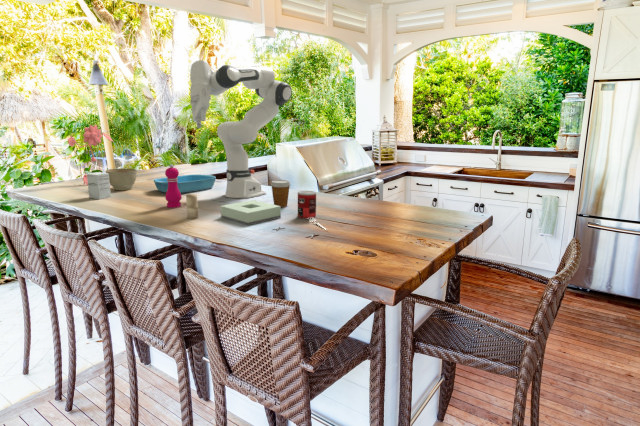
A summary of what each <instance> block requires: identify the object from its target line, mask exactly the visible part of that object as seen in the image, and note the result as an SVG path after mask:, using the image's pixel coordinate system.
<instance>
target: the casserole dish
mask: <svg viewBox="0 0 640 426" xmlns="http://www.w3.org/2000/svg"><path fill="white" fill-rule="evenodd" d="M216 177H217V176H215V175H212V174H211V175H210V174H199V173H198V174H196V173H195V174H185V175H178V177H177V178H178V181H177V186H178V189H179V191H180V193H181V194H185V193H193V192H198V191H199V190H200V191H203V190H209V188H210V189H212V188H213V187H214V185H215V183H216V179H217V178H216ZM153 183H154V185H155V187H156V189H157V190H158V191H159V192H161V193H166V192H167V190H168V181H167V176H165V177H159V178H154V179H153Z"/></svg>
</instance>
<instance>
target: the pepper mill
mask: <svg viewBox="0 0 640 426" xmlns="http://www.w3.org/2000/svg"><path fill="white" fill-rule="evenodd" d="M164 175H165V177H167V181H168V190H167V192H165V197H164V198H165V200H166V201H167V203H166V206H167V208H169V209H170V208H171V209H172V208H173V209H175V208H177V209H178V208H180V207H181V206H182V203H181V200H182V193H180V191H179V189H178V186H177V181H178V178H177V177H178V176H180V172H179V170H178V169H177V168H176V167H175V166H174V164H172V163H171V164H169V167H168V168H166V170H165V172H164Z"/></svg>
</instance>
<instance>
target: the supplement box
mask: <svg viewBox="0 0 640 426" xmlns="http://www.w3.org/2000/svg"><path fill="white" fill-rule="evenodd" d="M86 175H87V181H88V186H87V188H88V189H87V190H88V197H89V199H95V200H103V199H108V198H111V184H110V182H109V173H106V172H101V171H98V172H97V171H96V172H90V173H86Z"/></svg>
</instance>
